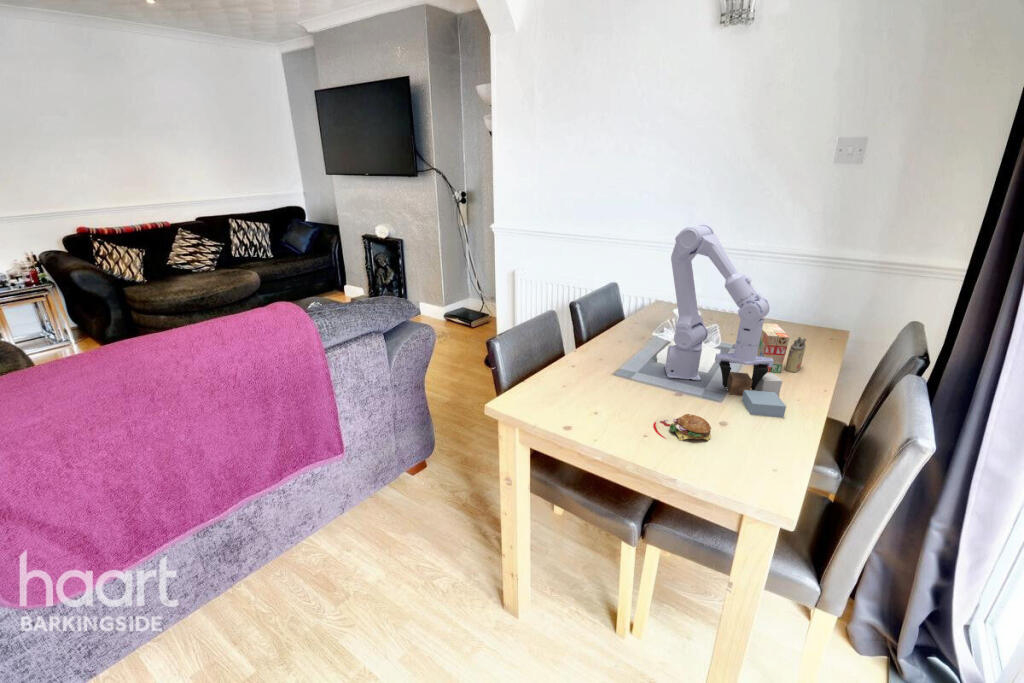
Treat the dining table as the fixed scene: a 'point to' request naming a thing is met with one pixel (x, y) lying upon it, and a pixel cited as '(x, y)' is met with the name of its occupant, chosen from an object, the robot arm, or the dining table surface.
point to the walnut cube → (738, 383)
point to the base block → (763, 403)
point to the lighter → (795, 355)
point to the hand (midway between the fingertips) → (738, 387)
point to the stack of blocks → (773, 345)
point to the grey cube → (769, 384)
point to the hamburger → (688, 427)
